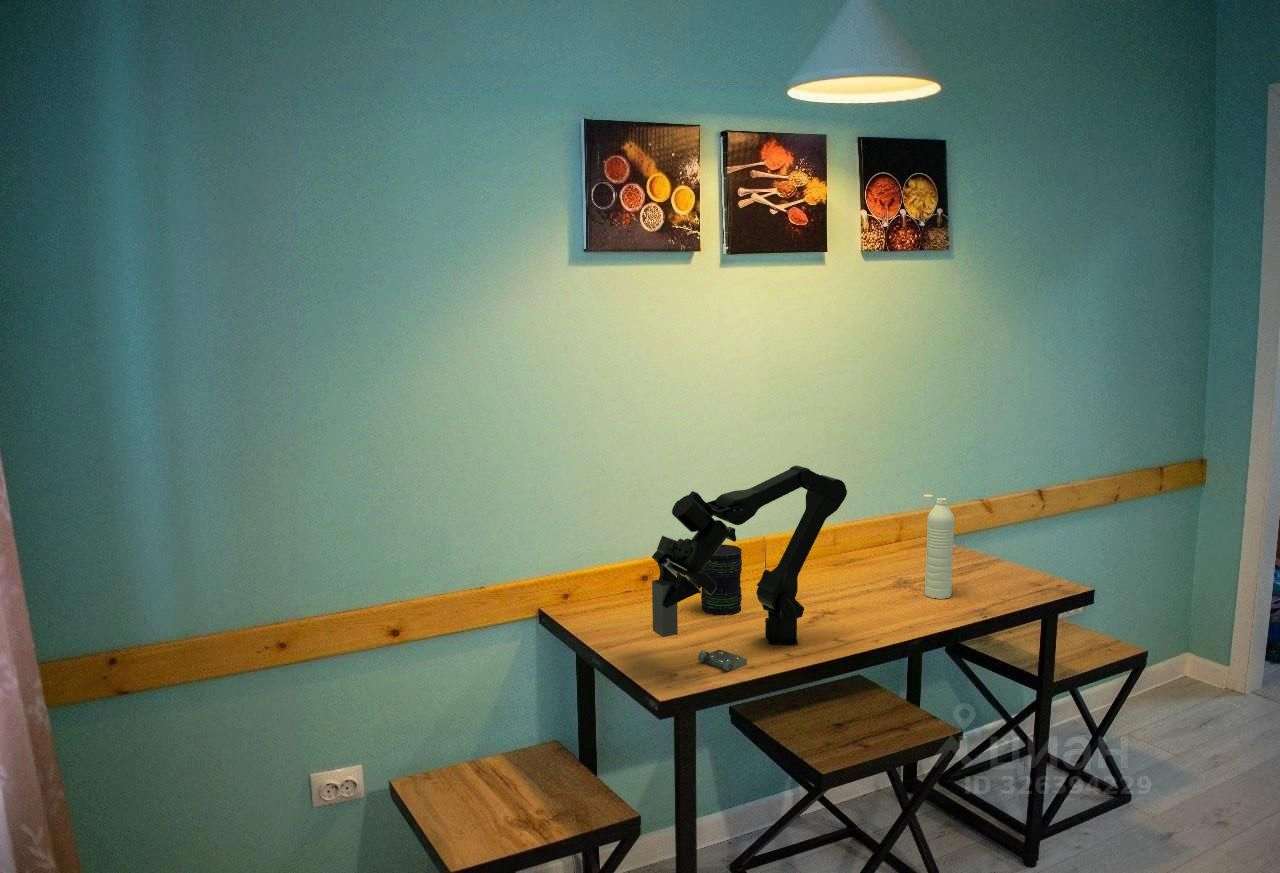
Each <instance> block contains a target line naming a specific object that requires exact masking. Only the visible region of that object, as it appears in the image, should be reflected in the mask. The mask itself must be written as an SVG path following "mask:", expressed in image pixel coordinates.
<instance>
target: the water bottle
mask: <svg viewBox="0 0 1280 873" xmlns="http://www.w3.org/2000/svg"><path fill="white" fill-rule="evenodd" d="M922 499H923V500H924V501H925V500H926V501H932V500H934V495H932V494H923V495H922ZM935 503H936V504H935V505H934V507H933V508H932V509H931V511H930V512H929V513H928V515H927V528H926V529H927V530H926V531H927V532H926V533H927V534H926V550H925V551H926V556H925V562H926V563H925V573H924V574H925V579H924V581H925V582H924V583H925V585H924V595H925V596H926V597H927V598H931V599H934V598H936V599H937V600H944V599H946V598H947V599H949V598H951V597H952V591H953V590H952V584H953V579H952V578H953V563H954V562H953V561H954V557H953V556H954V537H955V536H954V535H955V534H954V533H955V528H954V527H955V516H954V514H953V512H952V510H951V509H950V507H949V506H948V502H947V498H944V497H938V498H936V501H935Z"/></svg>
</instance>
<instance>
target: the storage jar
mask: <svg viewBox="0 0 1280 873" xmlns="http://www.w3.org/2000/svg"><path fill="white" fill-rule="evenodd" d="M742 551H743V549H742V548H741V547H739V546H736V545H733V544H732V545H731V544H722V545H721V546H720V547H719V549H718V550H717V551H716V553H715V554H714V555H713V557H714V558H715V561H714V562H713V563H712V562H710V561H709V562H708V563H707V564H706V566H705V567H704V568H703V570H704V571H705V572H706V573H707V574H708V575H709V576H710V577H711V578H712V579H713V580H714V581H716V590H715V591H714V592H713V594H712V595H709V594H707V593H706V592H704V591H703V588H702V587H701V593H700V600H701V611H702V610H703V611H704V612H703V611H702V612H703V613H704V614H707V613H708V614H707V615H710V614H712V615H711V616H716V615H724V616H723V617H725V615H729V616H733V615H734V616H735V615H737V614H739V613H741V611H742V600H743V595H742V587H741V574H742V570H743V568H742V566H743V559H742V554H743V553H742Z"/></svg>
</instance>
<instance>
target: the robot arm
mask: <svg viewBox="0 0 1280 873" xmlns="http://www.w3.org/2000/svg"><path fill="white" fill-rule="evenodd" d="M800 488H802V489H804V490H806V493H805V508H804V509H805V510H804V511H803V514H802V516H801V518H800V520H799V522H798V524H797V525H796V528H795V530H794V532H793V534H792V536H791V538H790V539H789V542H788V544H787V546H786V547H785V551H783V552H784V553H783V554H782V557H781V559H780V561H779V562H778V564H777V566H776V567H775V568H774V569H771V570H769V569H765V570H763V572H762V575H761V578H760V579H759V581H758V582H757V583H756V586H757V588H756V593H755V594H756V596H757V600H758V602H759V603H760V604H761V607H762V610H764V611H766V612H767V617H765V619H764V624H765V625H764V637H765V639H766V640H767V644H769V645H784V646H785V645H786V646H787V645H788V646H789V645H790V646H791V645H792V646H793V645H794V646H796V645H799V641H798V619H801V618H802V617H803V615H804V611H805V607H804V606H803V605H802V604H801V603H800V602H799V601H798V600H797V599H796V596H797V593H798V591H799V590H798V589H799V588H798V586H799V585H798V577H799V574H800V573H801V570H802V568H803V567H804V564H805V562H806V560H807V558H808V557H809V554H810V552H811V549H812V547H813V546H814V544H815V542H816V541H817V538H818V536H819V534H820V531H821V530H822V528H823V525H824V524H825V521H826V520H827V518H829V517H830V516H831V515H833V514H834V513H835V512H837V511H838V510H839V509H840V507H841V506H842V504H843V503H844V501H845V499H846V497H847V494H848V490H847V486H846V483H845V482H844V481H843V480H842V479H841V480H840V479H838V478H834V477H831V476H827V475H824V474H819V473H816V472H814V471H812V470H811V469H810V468H808V467H805V466H800V465H797V464H796V465H793V466H791V467H790V468H789V469H786V470H785V471H782V472H781V473H779V474H777V475H775V476H773V477H771V478H769V479H766V480H764V481H762V482H760V483H758V484H756V485H754V486H752V487H749V488H747V489H740V490H733V491H729V492H725V493H721V494H720V495H719V496H717V498H716V499H714V500H711V501H707V502H706V501H705V500H704V499H703V497H702V496H701V495H700V494H699V493H698V492H696V491H694V490H691V491H690V493H689V494H687V495H685V496H683V497H681V498H680V499H678V500H677V501H675V503H674V505H673V507H672V510H671V515H672V516H673V517H674V518H675V519H677V521H679V522H680V523H681V524H682V526H684V527H685V528H686V529H687V530H688V531H689V532H690V533H694V532H695V534H694V536H692V538H688V537H687V538H685V539H682V538H678V539H677V540H676V539H673V538H670V537H667V536H664V535H661V538H660V540H659V542H658V545H657V547H656V550H655V552H654V554H653V555H651V559H653V561H654V562H656V563H657V566H658V569H659V576H658V579H664V578H668V579H669V580H671V581H673V582H675V583H676V584H675V586H674V588H673V589H672V591H671V592H670V594H669V595H668V597H667V598H666V600H665V602H664V604H663V606H664V607H665V608H668V607H670V606H672V605H674V604H676V603H677V604H678V603H680V602H681V601H684V600H686V599H688V598H690V597H692V596H695V595H697V594H699V595H701V594H702V590H701V589H702V588H703V591H704V592H706V593H707V594H709V595H712V594H713V592H714V591H715V590H716V581H714V580H713V579H712V578H711V577H710V576H709V575H708V574H707V573H706V572H705V571H704V570H703V568H704V567H705V566H706V564H707V563H708V562H709V561H710V562H712V563H713V562H714V561H715V558H714V557H713V555H714V554H715V553H716V551H717V550H718V549H719V547H720V546H721V545H723V543H724V542H725V541H726V540H729V541H732V542H733V543H735V542H737V535H736V528H734V527H732V526H727V524H725V522H728V523H730V524H731V525H735V526H741V525H743V524H745V523H747V522H748V521H749V520H750V519H752V518H753V517H754V516H755V515H756V514H757V512H758V511H759V510H760V509H761V508H762V507H764V506H766V505H768V504H770V503H772V502H774V501H776V500H777V499H780V498H782V497H784V496H786V495H788V494H790V493H792V492H794V491H796V490H799V489H800ZM713 517H714V518H715V517H716V518H717V520H716V519H714V518H713ZM722 520H723V521H724V522H723V521H722Z"/></svg>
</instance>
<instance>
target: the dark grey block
mask: <svg viewBox="0 0 1280 873" xmlns="http://www.w3.org/2000/svg"><path fill="white" fill-rule="evenodd" d="M675 584H676V583H675V582H673V581H671V580H669V579H668V578H664V579H659V578H658V579H653V580H651V600H652V603H651V605H652V607H651V608H652V609H651V610H652V632H654V633H656V634H657V635H659V636H660V637H661V638H667V637H672V636H675V635H678V632H679V630H678V629H679V627H678V624H679V623H678V622H679V621H678V620H679V619H678V603H676V604H674V605H672V606H670V607H668V608H665V607H664V606H663V604H664V602H665V600H666V598H667V597H668V595H669V594H670V592H671V591H672V589H673V588H674V586H675Z"/></svg>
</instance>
